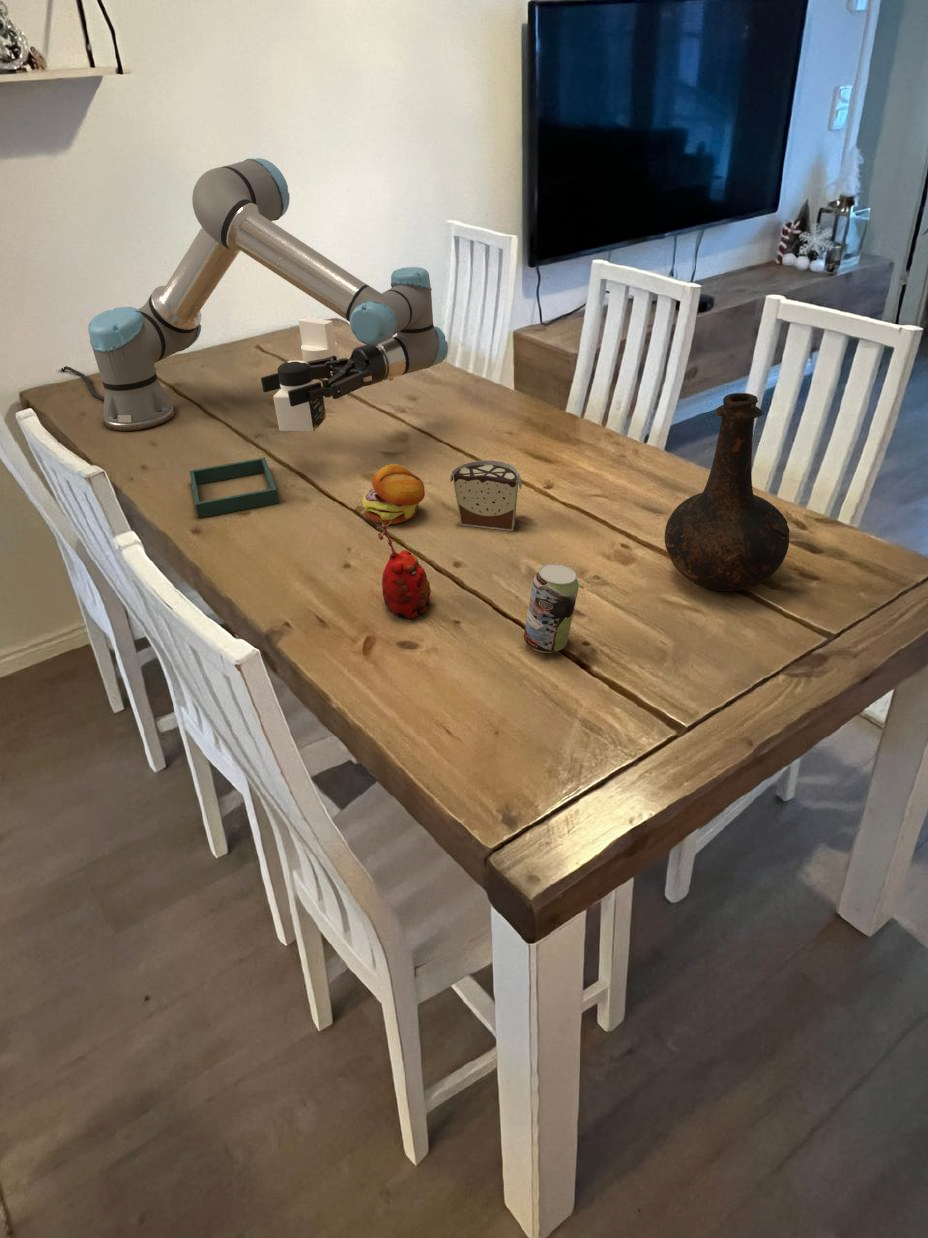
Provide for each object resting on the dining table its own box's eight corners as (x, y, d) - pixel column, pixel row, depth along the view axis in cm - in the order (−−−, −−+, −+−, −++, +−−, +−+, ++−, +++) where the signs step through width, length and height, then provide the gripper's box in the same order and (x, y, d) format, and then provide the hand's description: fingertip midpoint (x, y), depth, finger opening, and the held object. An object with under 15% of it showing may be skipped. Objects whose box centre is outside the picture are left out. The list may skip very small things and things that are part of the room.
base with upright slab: (347, 365, 229) (341, 317, 223) (324, 376, 223) (317, 327, 217) (320, 361, 234) (313, 313, 227) (297, 371, 228) (289, 323, 221)
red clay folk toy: (424, 623, 131) (416, 532, 123) (377, 620, 132) (366, 530, 124) (435, 594, 137) (427, 506, 129) (390, 592, 139) (380, 505, 130)
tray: (192, 483, 175) (189, 470, 174) (267, 470, 179) (265, 457, 177) (198, 518, 163) (195, 504, 161) (279, 503, 166) (276, 489, 165)
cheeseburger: (379, 496, 166) (386, 448, 160) (430, 517, 164) (438, 470, 157) (350, 519, 159) (356, 470, 152) (403, 542, 156) (411, 493, 150)
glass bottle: (762, 619, 127) (791, 432, 112) (643, 588, 136) (655, 410, 120) (796, 561, 140) (828, 385, 124) (685, 536, 148) (701, 368, 132)
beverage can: (521, 634, 127) (519, 561, 121) (572, 630, 128) (574, 556, 121) (527, 661, 122) (526, 586, 116) (581, 656, 123) (583, 580, 116)
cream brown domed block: (531, 515, 157) (530, 462, 151) (521, 532, 152) (520, 477, 147) (464, 508, 161) (461, 455, 155) (452, 524, 156) (449, 470, 150)
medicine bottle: (314, 433, 170) (304, 370, 163) (278, 432, 171) (267, 369, 164) (326, 418, 175) (317, 357, 169) (292, 417, 177) (282, 357, 170)
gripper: (411, 394, 172) (309, 427, 161) (349, 368, 187) (252, 396, 176) (407, 355, 168) (303, 386, 157) (344, 331, 183) (244, 358, 172)
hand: (276, 391), depth 167 cm, fingers closed on medicine bottle, 10 cm apart
